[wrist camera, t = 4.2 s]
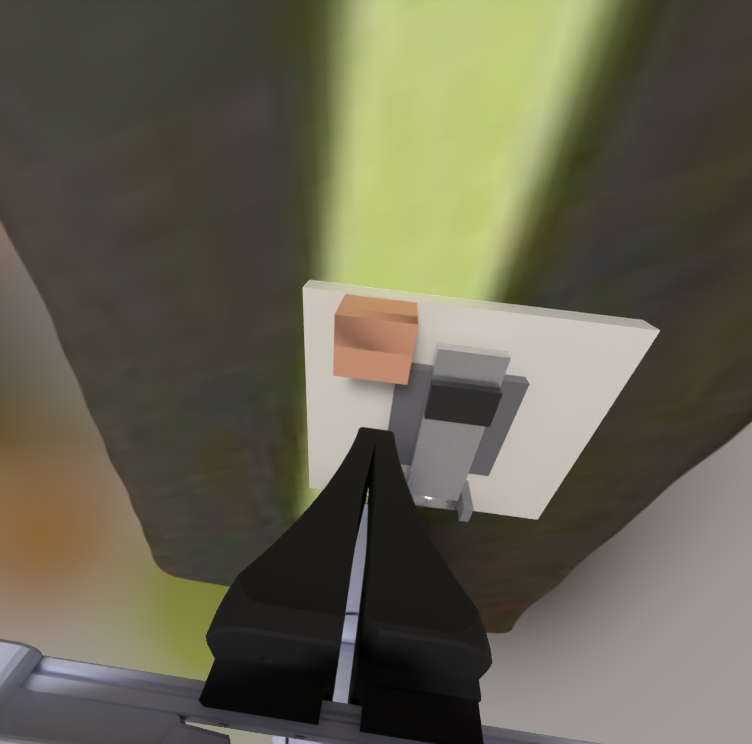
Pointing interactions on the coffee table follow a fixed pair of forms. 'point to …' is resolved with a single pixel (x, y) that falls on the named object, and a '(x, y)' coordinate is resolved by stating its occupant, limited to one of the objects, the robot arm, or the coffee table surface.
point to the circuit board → (519, 387)
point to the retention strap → (454, 421)
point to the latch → (374, 339)
